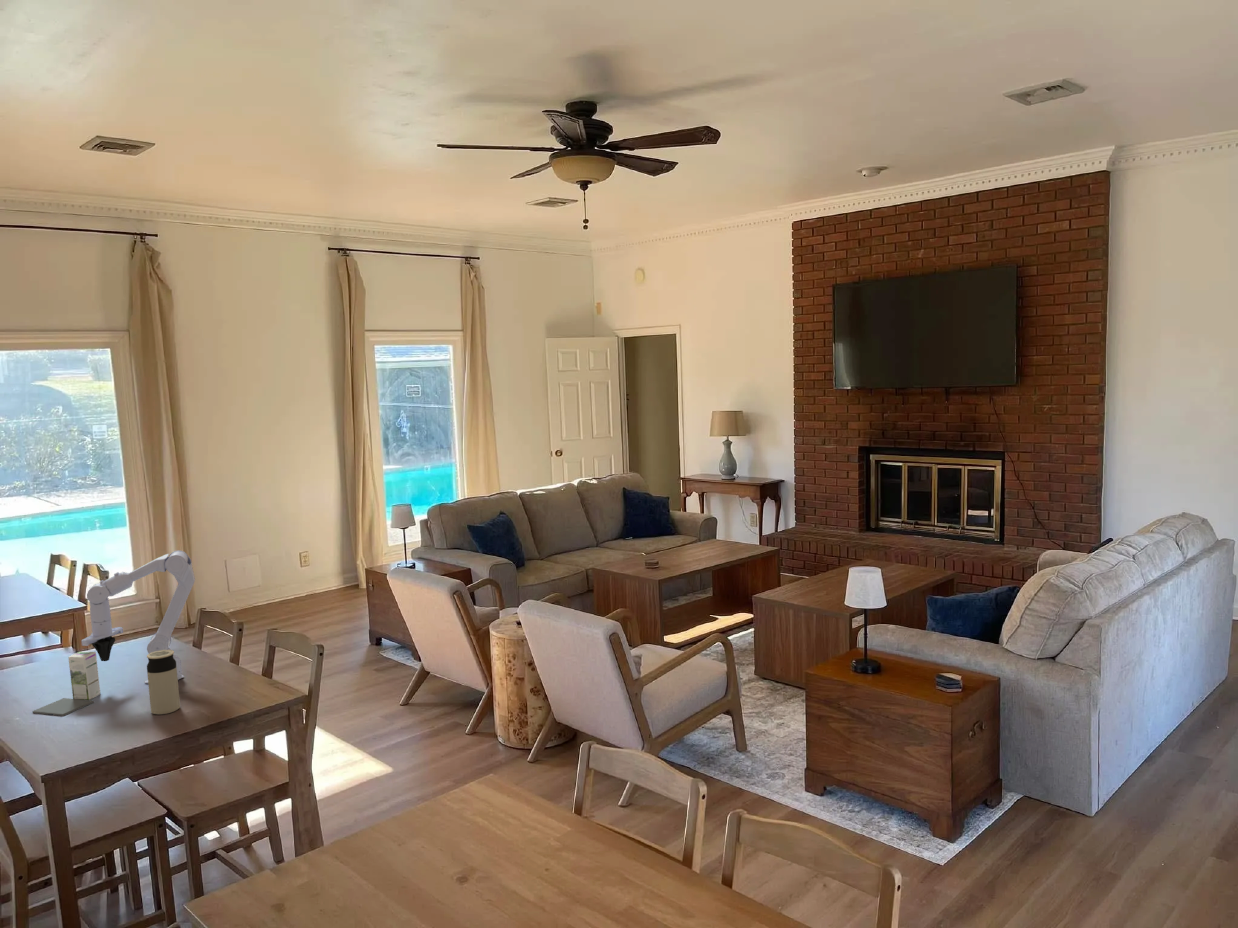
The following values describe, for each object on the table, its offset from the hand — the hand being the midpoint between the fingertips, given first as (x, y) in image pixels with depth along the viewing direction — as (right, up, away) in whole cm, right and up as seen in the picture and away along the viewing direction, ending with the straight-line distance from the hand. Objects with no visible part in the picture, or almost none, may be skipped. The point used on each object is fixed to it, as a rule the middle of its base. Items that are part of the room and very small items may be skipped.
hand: (105, 660), depth 292 cm
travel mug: (+31, -11, -20) cm, 38 cm away
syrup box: (-2, -11, -7) cm, 13 cm away
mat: (-4, -11, -15) cm, 20 cm away
